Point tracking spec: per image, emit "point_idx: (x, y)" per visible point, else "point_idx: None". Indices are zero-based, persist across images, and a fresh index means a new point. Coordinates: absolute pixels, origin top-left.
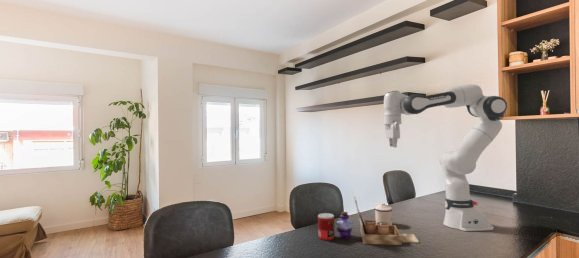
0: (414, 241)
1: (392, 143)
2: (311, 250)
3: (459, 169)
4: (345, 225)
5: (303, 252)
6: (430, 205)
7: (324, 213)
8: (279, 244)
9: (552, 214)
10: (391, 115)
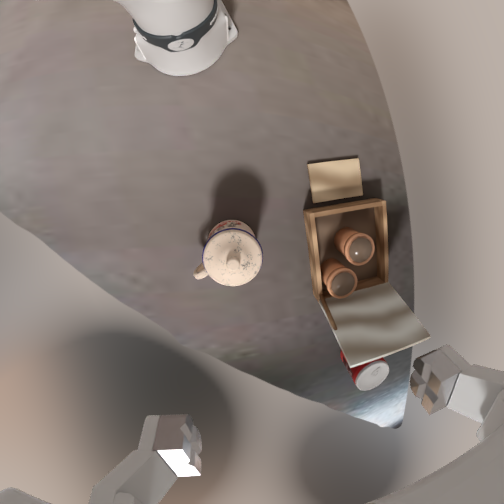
0: (359, 169)
1: (187, 454)
2: None
3: None
4: None
5: (411, 353)
6: (9, 123)
7: (358, 384)
8: (383, 392)
9: None
10: None
